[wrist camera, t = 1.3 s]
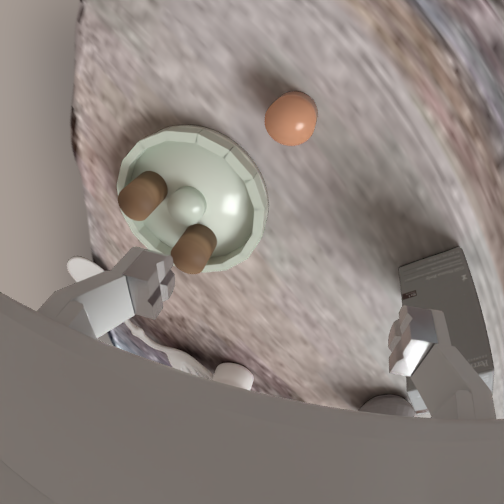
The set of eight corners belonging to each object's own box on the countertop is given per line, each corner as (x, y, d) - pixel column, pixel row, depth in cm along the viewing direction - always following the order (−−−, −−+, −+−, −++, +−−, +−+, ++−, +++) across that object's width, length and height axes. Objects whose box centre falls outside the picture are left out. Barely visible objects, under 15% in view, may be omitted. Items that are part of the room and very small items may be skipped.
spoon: (189, 373, 60) (183, 386, 58) (67, 261, 49) (56, 273, 46) (220, 367, 56) (214, 382, 53) (86, 240, 44) (73, 253, 41)
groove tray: (122, 121, 31) (109, 128, 29) (276, 134, 28) (271, 142, 26) (138, 243, 42) (129, 255, 40) (261, 271, 39) (256, 285, 37)
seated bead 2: (184, 221, 36) (168, 241, 33) (217, 227, 35) (204, 248, 32) (186, 248, 38) (172, 269, 35) (217, 255, 38) (205, 277, 35)
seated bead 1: (135, 169, 33) (115, 185, 30) (166, 172, 33) (147, 189, 29) (139, 199, 36) (121, 217, 33) (168, 204, 35) (152, 223, 32)
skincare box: (460, 243, 30) (500, 363, 17) (468, 287, 32) (496, 400, 20) (393, 266, 34) (403, 391, 22) (408, 307, 37) (416, 421, 25)
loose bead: (275, 88, 26) (266, 95, 23) (320, 95, 25) (318, 102, 22) (271, 129, 28) (262, 141, 25) (314, 136, 28) (311, 149, 24)
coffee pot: (402, 383, 47) (401, 463, 35) (421, 406, 50) (421, 475, 39) (303, 407, 59) (289, 474, 47) (332, 426, 62) (321, 486, 51)
